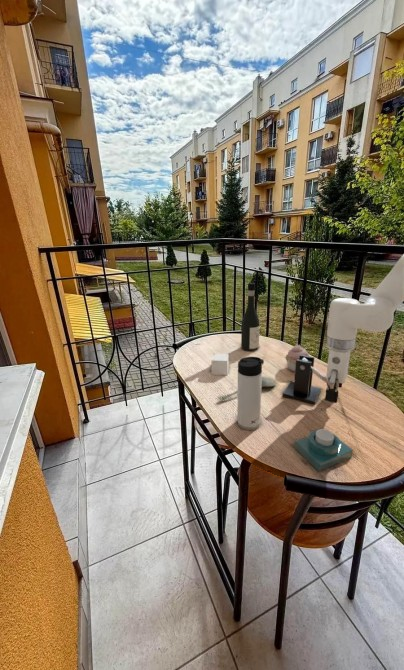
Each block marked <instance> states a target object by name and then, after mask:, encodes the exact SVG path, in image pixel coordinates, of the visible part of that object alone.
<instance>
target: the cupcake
mask: <svg viewBox="0 0 404 670" xmlns="http://www.w3.org/2000/svg"><path fill="white" fill-rule="evenodd" d="M300 355H305V356H310V354H309V352H307V350H306V349H305V348H303V347H302V346H301V345H300V344H297V345H294V346H293V347H292V348H291V349H290V350H288V353H287V354H286V355H285V356H284V358H285V361H286V363H287V368H288V370H289V371H291V372H293V373H295V368H296V360H297V359H298V360H299V356H300Z"/></svg>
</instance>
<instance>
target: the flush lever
mask: <svg viewBox="0 0 404 670" xmlns="http://www.w3.org/2000/svg"><path fill="white" fill-rule="evenodd" d="M302 360H304V361H309V360H307V359H306V358H305V357H304V358H303V359H302ZM309 362H310V361H309ZM311 372H313V374H314V375H315V376H316V377H318V378H319V379H320V380H322V381H323V382H324V383H326V386H327V385H328V380H327V379H326V375H324V374H323V373H321V372H320V371H319V370H317V369H316V368H315V367H314V366H313V367H312V366H311ZM336 384H337V383H335V385H336Z"/></svg>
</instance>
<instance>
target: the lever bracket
mask: <svg viewBox="0 0 404 670" xmlns="http://www.w3.org/2000/svg"><path fill="white" fill-rule="evenodd" d="M304 357H305V358H306V359H307V360H309V361H310V362H309V361H304V360H302V359H303V358H304ZM314 365H315V356H310V355H309V356H305V355H300V356H299V360H298V359H297V360H296V368H295V372H294V381H292V380H290V382H289V383H288V384H287V386H286V388H285V390H284V391H283V393H282V397H283V398H286V399H290V400H294V401H298V402H302V403H305V404H308V405H313V406H316V404H317V401H318V400H319V398H320V395H321V392H322V388H321V387H316V386H313V384H312V383H313V374H314V373H313V372H311V366H312V367H313V368H314Z"/></svg>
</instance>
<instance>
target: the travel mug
mask: <svg viewBox="0 0 404 670" xmlns="http://www.w3.org/2000/svg"><path fill="white" fill-rule="evenodd" d="M264 363H265V362H264V358H263V359H262V358H260V357H259V356H246V357H243V358H241V359H239V361H238V362H237V391H238V393H237V425H238V427H240V428H241V429H243V430H245V431H254V430H257V429H258V428H259V427H260V426H261V411H262V410H261V409H262V406H261V405H262V387H261V385H262V377H263V365H264Z"/></svg>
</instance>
